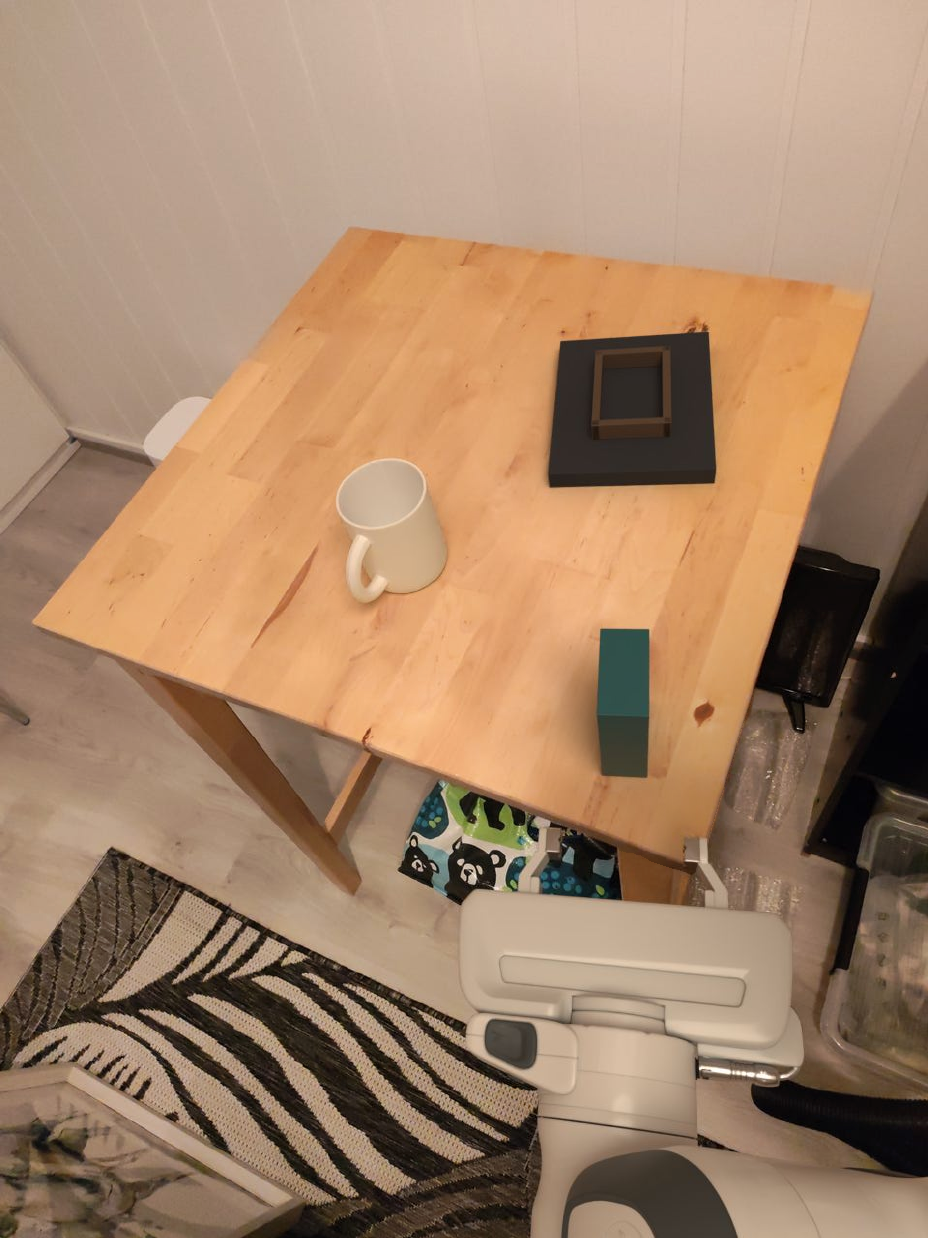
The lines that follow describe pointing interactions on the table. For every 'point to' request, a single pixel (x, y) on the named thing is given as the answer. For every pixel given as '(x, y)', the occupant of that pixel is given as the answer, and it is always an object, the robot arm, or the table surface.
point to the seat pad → (633, 412)
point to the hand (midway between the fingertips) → (621, 834)
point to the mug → (390, 529)
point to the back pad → (623, 702)
